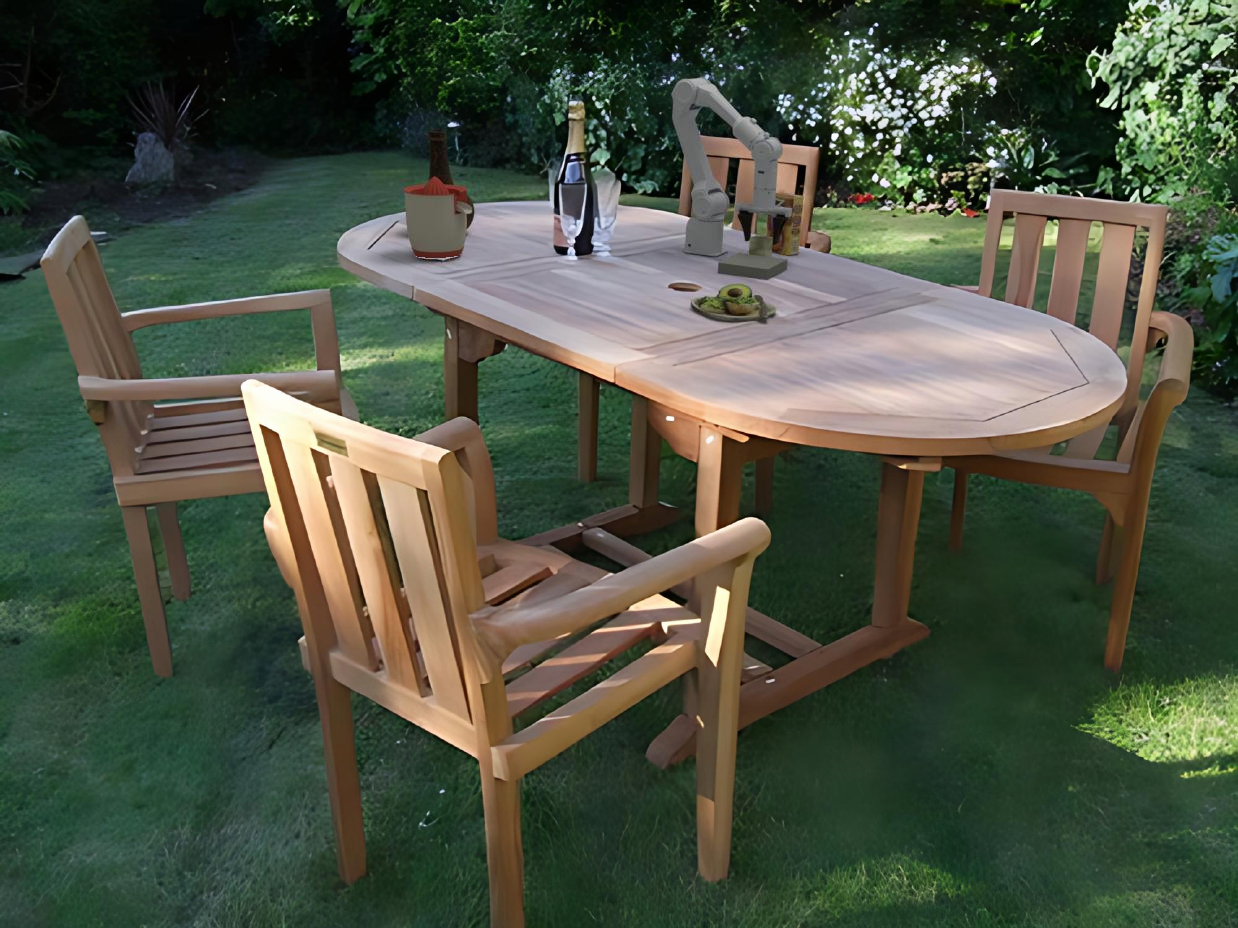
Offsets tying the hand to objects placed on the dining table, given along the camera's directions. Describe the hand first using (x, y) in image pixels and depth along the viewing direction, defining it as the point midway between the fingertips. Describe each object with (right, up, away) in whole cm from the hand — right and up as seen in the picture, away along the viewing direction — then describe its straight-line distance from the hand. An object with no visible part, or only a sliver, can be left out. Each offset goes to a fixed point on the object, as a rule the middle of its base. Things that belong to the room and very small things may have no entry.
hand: (761, 242), depth 284 cm
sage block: (0, -4, +2) cm, 5 cm away
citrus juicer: (-82, -4, -1) cm, 82 cm away
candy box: (+7, 0, +12) cm, 14 cm away
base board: (-3, -9, -9) cm, 13 cm away
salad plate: (-12, -24, -44) cm, 51 cm away
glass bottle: (-85, +7, +25) cm, 89 cm away
